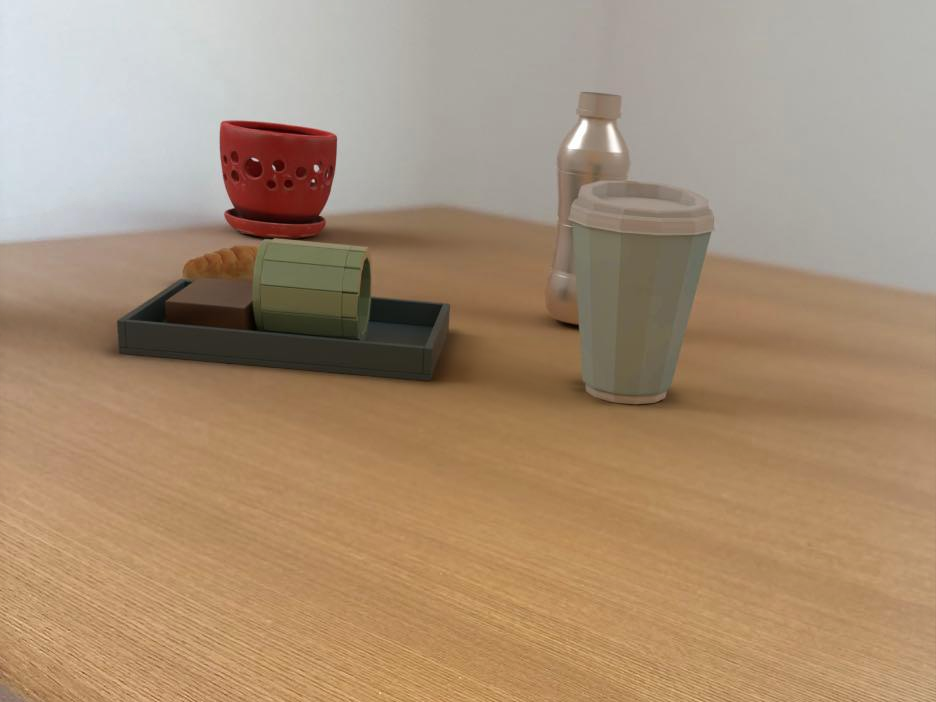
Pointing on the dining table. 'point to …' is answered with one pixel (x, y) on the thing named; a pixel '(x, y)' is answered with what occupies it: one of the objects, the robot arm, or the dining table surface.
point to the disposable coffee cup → (636, 283)
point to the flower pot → (276, 177)
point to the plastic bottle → (579, 163)
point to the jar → (312, 289)
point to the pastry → (223, 264)
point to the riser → (213, 305)
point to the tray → (298, 340)
